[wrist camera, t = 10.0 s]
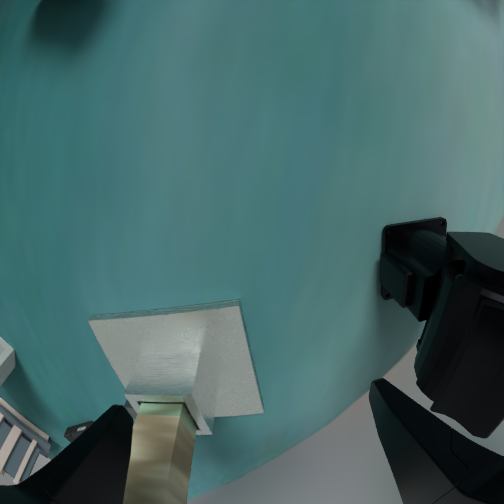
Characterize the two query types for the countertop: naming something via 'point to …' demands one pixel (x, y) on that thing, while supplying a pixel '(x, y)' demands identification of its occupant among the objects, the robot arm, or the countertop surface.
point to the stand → (183, 359)
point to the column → (160, 455)
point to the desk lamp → (19, 443)
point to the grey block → (6, 360)
